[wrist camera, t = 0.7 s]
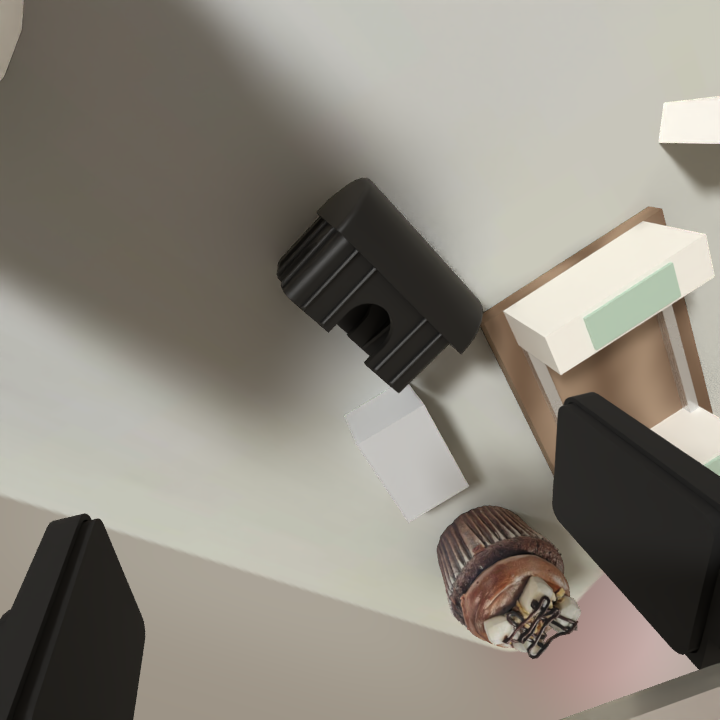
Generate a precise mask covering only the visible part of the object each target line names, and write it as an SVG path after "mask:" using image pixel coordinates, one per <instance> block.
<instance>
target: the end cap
mask: <svg viewBox="0 0 720 720" xmlns="http://www.w3.org/2000/svg"><path fill="white" fill-rule="evenodd" d="M316 213H317V214H318V215H319V216H320V217H319V218H318V219H317V220H316V221H315V222H314V224H313V225H312V226H311V227H310V228H309V229H308V230H307V231H306V232H305V233H304V234H303V235H302V237H301V238H300V239H299V240H298V241H297V242H296V243H295V244H294V245H293V246H292V247H291V248H290V249H289V251H288V252H287V253H286V254H285V255H284V256H283V257H282V258H281V259H280V261H279V263H278V270H277V277H278V279H279V280H280V281H281V282H282V284H281V287H282V289H283V292H284V293H285V294H286V295H287V297H288V298H289V299H290V300H291V301H293V302H294V303H295V304H296V305H297V306H298V307H299V308H301V309H302V310H303V311H304V312H305V313H306V314H307V315H309V316H310V317H311V318H312V319H313V320H314V321H316V322H317V323H318V324H319V325H320V326H321V327H322V328H324V329H325V330H326V331H327V332H328V333H329V331H330V330H331V329H332V328H333V327H334V326H335V325H336V324H337V325H338V326H340V327H341V328H342V329H343V330H344V331H345V332H346V333H348V334H347V336H348V337H349V338H350V339H351V340H352V341H354V342H355V343H356V344H357V345H358V346H359V347H360V348H361V349H363V350H364V351H365V352H366V353H367V354H368V355H369V357H368V359H367V360H366V361H365V362H364V363H365V365H366V366H367V367H369V368H370V369H371V370H372V371H373V372H374V373H375V374H377V375H378V376H379V377H380V378H381V379H382V380H384V381H385V382H386V383H387V384H388V385H389V386H390V387H392V388H393V389H394V390H395V391H396V392H398V393H400V392H401V391H402V390H403V389H404V388H405V387H406V386H407V385H408V384H409V383H410V382H411V381H412V380H413V379H414V378H415V377H416V376H417V375H418V374H419V373H420V372H421V371H422V370H423V369H424V368H425V367H426V366H427V365H428V364H429V363H430V362H431V361H432V360H433V359H434V358H435V357H436V356H437V355H438V354H439V353H440V352H441V351H443V350H444V349H445V348H446V347H447V346H448V345H449V344H450V345H451V346H453V347H454V348H455V349H456V350H457V351H458V352H459V353H460V354H462V353H463V352H464V351H465V350H466V348H467V347H468V346H469V345H470V343H471V342H472V341H473V339H474V338H475V336H476V334H477V332H478V330H479V327H480V325H481V322H482V316H483V311H482V305H481V303H480V301H479V300H478V299H477V297H476V296H475V295H474V294H473V293H472V292H471V291H470V290H469V289H468V287H467V286H466V285H465V284H464V283H463V282H462V281H461V280H460V279H459V277H458V276H457V275H456V274H455V273H454V272H453V271H452V270H451V269H450V267H449V266H448V265H447V264H446V263H445V262H444V261H443V260H442V259H441V257H440V256H439V255H438V254H437V253H436V252H435V251H434V250H433V249H432V247H431V246H430V245H429V244H428V243H427V242H426V241H425V240H424V239H423V237H422V236H421V235H420V234H419V233H418V232H417V231H416V230H415V229H414V227H413V226H412V225H411V224H410V223H409V222H408V221H407V220H406V219H405V217H404V216H403V215H402V214H401V213H400V212H399V211H398V210H397V209H396V207H395V206H394V205H393V204H392V203H391V202H390V201H389V200H388V199H387V197H386V196H385V195H384V194H383V193H382V192H381V191H380V190H379V189H378V187H377V186H376V185H375V184H374V183H373V182H372V181H371V180H370V179H368V178H361V179H358V180H355V181H353V182H351V183H350V184H348V185H347V186H345V187H344V188H342V189H341V190H340V191H338V192H337V193H336V194H335V195H334V196H333V197H331V198H330V199H329V200H328V201H327V202H326V203H325V204H324V205H323V206H322V207H321V208H320V209H319V210H318V211H317V212H316Z"/></svg>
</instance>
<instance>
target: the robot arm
mask: <svg viewBox="0 0 720 720" xmlns="http://www.w3.org/2000/svg"><path fill="white" fill-rule="evenodd" d="M552 505H553V511H554V513H555V516H556V517H557V519H558V520H559V522H560V523H561V524H562V525H563V526H564V527H565V529H566V530H567V531H568V532H569V533H570V534H571V535H572V536H573V538H574V539H575V540H576V541H577V542H578V543H579V544H580V545H581V547H582V548H583V549H584V550H585V551H586V552H587V553H588V554H589V556H590V557H591V558H592V559H593V560H594V561H595V562H596V563H597V565H598V566H599V567H600V568H601V569H602V570H603V571H604V573H605V574H606V575H607V576H608V577H609V578H610V579H611V580H612V582H614V584H615V585H616V586H617V587H618V588H619V589H620V590H621V591H622V593H623V594H624V595H625V596H626V597H627V598H628V600H629V601H630V602H631V603H632V604H633V605H634V606H635V607H636V609H637V610H638V611H639V612H640V613H641V614H642V615H643V616H644V617H645V619H646V620H647V621H648V622H649V623H650V624H651V625H652V627H653V628H654V629H655V630H656V631H657V632H658V633H659V634H660V636H661V637H662V638H663V639H664V640H665V641H666V642H667V643H668V645H669V646H670V647H671V648H672V649H673V650H674V651H676V652H677V653H679V654H682V655H683V654H685V655H686V656H687V657H688V658H689V659H690V660H691V662H692V663H693V664H694V665H695V666H696V667H697V668H698V669H699V670H697V671H695V672H692V673H689V674H686V675H683V676H681V677H678V678H675V679H672V680H669V681H667V682H664V683H661V684H658V685H655V686H653V687H650V688H647V689H644V690H641V691H639V692H636V693H633V694H630V695H628V696H625V697H622V698H619V699H616V700H613V701H611V702H608V703H605V704H602V705H599V706H597V707H594V708H591V709H588V710H585V711H583V712H580V713H577V714H574V715H572V716H569V717H566V718H563V719H560V720H720V476H719V475H717V474H716V473H714V472H713V471H711V470H710V469H709V468H707V467H706V466H704V465H703V464H701V463H700V462H698V461H697V460H695V459H694V458H692V457H691V456H689V455H688V454H686V453H685V452H683V451H682V450H680V449H679V448H677V447H676V446H674V445H673V444H671V443H670V442H669V441H667V440H666V439H664V438H663V437H661V436H660V435H658V434H657V433H655V432H654V431H652V430H651V429H649V428H648V427H646V426H645V425H643V424H642V423H640V422H639V421H637V420H636V419H634V418H633V417H632V416H630V415H629V414H627V413H626V412H624V411H623V410H621V409H620V408H618V407H617V406H615V405H614V404H612V403H611V402H609V401H608V400H606V399H605V398H603V397H602V396H600V395H599V394H597V393H595V392H589V393H585V394H580V395H576V396H572V397H568V398H567V399H565V401H564V404H563V406H561V407H560V408H559V410H558V417H557V434H556V451H555V467H554V484H553V501H552ZM144 643H145V626H144V621H143V618H142V615H141V613H140V611H139V608H138V606H137V603H136V601H135V599H134V596H133V594H132V592H131V589H130V587H129V584H128V582H127V579H126V577H125V575H124V572H123V570H122V567H121V565H120V563H119V560H118V558H117V555H116V553H115V551H114V548H113V546H112V543H111V541H110V539H109V536H108V534H107V531H106V529H105V527H104V524H103V522H102V521H101V520H100V519H94V520H91V518H90V516H89V515H88V514H80V515H76V516H72V517H68V518H64V519H60V520H56V521H52V522H51V523H50V524H49V525H48V527H47V529H46V531H45V533H44V536H43V538H42V541H41V543H40V545H39V547H38V549H37V552H36V554H35V556H34V559H33V561H32V563H31V565H30V567H29V570H28V572H27V574H26V577H25V579H24V581H23V583H22V586H21V588H20V590H19V593H18V595H17V597H16V599H15V601H14V604H13V606H12V608H11V610H8V611H7V612H6V613H5V614H4V615H3V616H2V617H1V619H0V720H133V717H134V710H135V704H136V697H137V690H138V683H139V676H140V670H141V663H142V656H143V649H144Z"/></svg>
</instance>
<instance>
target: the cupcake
mask: <svg viewBox="0 0 720 720" xmlns="http://www.w3.org/2000/svg"><path fill="white" fill-rule="evenodd" d="M437 554H438V556H437V557H438V561H439V566H440V569H441V572H442V576H443V580H444V584H445V588H446V593H447V597H448V602H449V606H450V609H451V614H453V615H454V616H455V617H456V619H457V620H458V621H460V623H461V624H462V625H463V624H464V625H465V627H467V629H468V630H470V632H471V633H472V634H473V635H475V636H476V637H478V638H480V639H482V640H484V641H487V642H489V643H491V644H494V645H497V646H500V647H504V648H515V649H516V650H518V651H521V652H528V655H529V657H531V658H532V659H534V658H538V657H539V656H540V655H541V654H542V653H543V652H544V651H545V650H546V649H547V647H548V646H549V644H550V643H551V642H552V640H553V639H555V638H557V637H559V636H561V635H566V634H570V633H571V632H573V630H577V623H578V621H576V620H577V619H578V618H579V616H580V614H581V610H580V608H579V607H578V604H577V602H576V601H575V600H574V599H573V598H571V597H570V591H569V585H568V582H567V580H566V578H565V577H564V564H563V561H562V558H561V554H560V553H559V552H558V549H557V548H556V547H555V546H554V545H553V544H552V543H551V542H550V541H549V540H548V539H547V538H545V537H544V536H542V535H541V534H539V533H537V532H536V531H534V530H533V529H532V528H531V527H529V526H528V525H527V524H526V523H525V522H524V521H523V520H522V519H521V518H520V517H519V516H518V515H515V514H514V513H513V512H511V511H509V510H507V509H504V508H502V507H498V506H490V505H489V506H482V507H477V508H475V509H471V510H470V511H468V512H466V513H463V514H461V515H460V516H459V517H458V518H456V519H455V520H454V522H453V523H452V524H451V525H449V526H448V527H447V528H446V530H445V531H444V532H443V534H442V535H441V537H440V540H439V544H438V546H437ZM552 628H553V629H554V630H555V631H558V633H556V634H555V635H554V636H552V637H550V638H549V639H548V640H547V641H546V642H544V639H545V638H546V636H547V635H546V632H548V631H549V630H550V629H552Z"/></svg>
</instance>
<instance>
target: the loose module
mask: <svg viewBox="0 0 720 720" xmlns="http://www.w3.org/2000/svg"><path fill="white" fill-rule="evenodd" d="M344 417H345V420H346V422H347V424H348V427H349V429H350V431H351V433H352V436H353V438H354V440H355V443H356V445H357V447H358V448H359V450H360V451H361V453H362V454H363V456H364V457H365V459H366V460H367V462H368V463H369V465H370V466H371V468H372V469H373V471H374V472H375V474H376V475H377V477H378V478H379V480H380V481H381V483H382V484H383V486H384V487H385V488H386V490H387V491H388V493H389V494H390V496H391V497H392V499H393V500H394V502H395V503H396V505H397V506H398V508H399V509H400V511H401V512H402V514H403V515H404V517H405V518H406V520H407V521H408V523H409V522H411V521H412V520H414V519H416V518H417V517H419V516H421V515H422V514H424V513H426V512H427V511H429V510H431V509H432V508H434V507H436V506H437V505H439V504H441V503H442V502H444V501H446V500H447V499H449V498H451V497H452V496H454V495H456V494H457V493H459V492H461V491H462V490H464V489H466V488H467V487H469V485H468V483H467V481H466V480H465V478H464V476H463V474H462V472H461V470H460V469H459V467H458V465H457V463H456V461H455V460H454V458H453V456H452V454H451V452H450V451H449V449H448V447H447V445H446V443H445V441H444V440H443V438H442V436H441V434H440V432H439V431H438V429H437V427H436V425H435V423H434V421H433V420H432V418H431V416H430V414H429V412H428V411H427V409H426V407H425V405H424V404H423V402H422V401H421V400H420V398H419V397H418V396H417V394H416V393H415V391H414V390H413V389H412V387H411V386H410V385H409V384H408V385H407V386H406V387H405V388H404V389H403V390H402V391H401V392H400V393H398V392H396V391H395V390H394V389H393V388H392V387H391V388H389V389H387V390H386V391H384V392H382V393H381V394H379V395H377V396H376V397H374V398H372V399H371V400H369V401H367V402H366V403H364V404H362V405H361V406H359V407H357V408H356V409H354V410H352V411H351V412H349V413H347V414H346V415H344Z"/></svg>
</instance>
